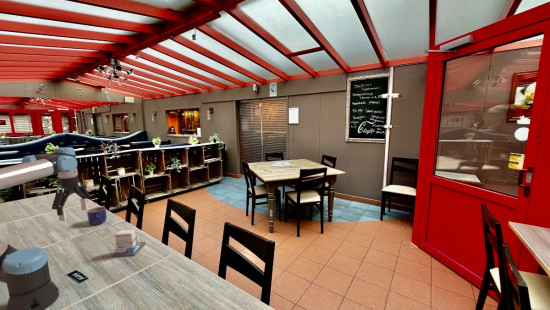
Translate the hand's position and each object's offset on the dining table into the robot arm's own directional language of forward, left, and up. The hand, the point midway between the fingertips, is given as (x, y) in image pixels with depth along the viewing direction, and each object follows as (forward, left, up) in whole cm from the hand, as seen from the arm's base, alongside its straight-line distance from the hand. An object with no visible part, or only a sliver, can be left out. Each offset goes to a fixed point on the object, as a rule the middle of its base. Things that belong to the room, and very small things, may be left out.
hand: (74, 214), depth 117 cm
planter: (+45, +23, -27) cm, 57 cm away
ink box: (+5, -22, -25) cm, 34 cm away
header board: (+8, -22, -27) cm, 35 cm away
